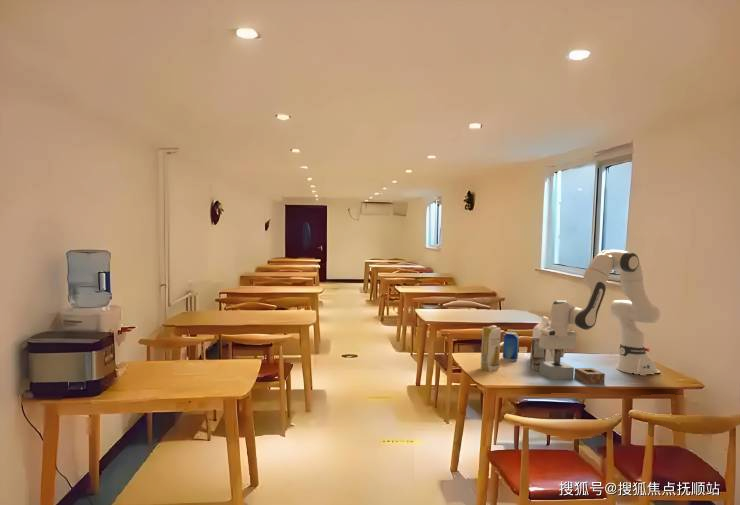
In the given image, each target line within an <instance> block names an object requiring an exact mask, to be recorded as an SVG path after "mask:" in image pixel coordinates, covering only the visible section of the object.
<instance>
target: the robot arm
mask: <svg viewBox="0 0 740 505" xmlns="http://www.w3.org/2000/svg"><path fill="white" fill-rule="evenodd" d="M611 271H619V281H620V284H619V285H620V291H621V293H622V295H624V296H625V297H627V299H628V300H627V299H615V300H613V301H612V303H611V304H610V307H609V310H610V313H611V315H612V316H613V317H614V318H615V319H616V321H617V322H618V324H619V327H620V335H621V336H620V337H621V338H620V339H621V340H620V344H619V356H618V362H617V364H616V367H615V369H616V370H618V371H620V372H623V373H627V374H632V373H634V375H638V374H640V375H639V376H646V375H645V374H652V375H654V374H653V373H659V372H661V370H659V369H657V365H656V361H655V360H653V358H651V356H649V355H648V354H647V353H648V352H650V351H651V348H650V347H645V346H644V340H645V333H644V331H643V330H642V329H641V328H639V327H638V325H636V322H637V323H643V324H655V323H656V322H658V320H659V319H660V316H661V312H660V309H659V307H658V306H657V305H655V304H654V303H653V302H652V301H651V300H650V298H649V297H648V295H647V294H646V291H645V285H644V277H643V270H642V266H641V262H640V259H639V257H638V255H637V254H636V253H634V252H632V251H627V250H622V249H609V248H608V249H603V250H602V251H600V252H599V253H598V254H596V255H595V256H594V258H593V259H592V260H591V261H590V263H589V264H588V266H587V268H586V270H585V271H584V273H583V276H582V277H583V278H582V280H583V283H584V284H585V286H586V287H587V288H588V289H589V290H590V296H589V298H588V300H587V303H586V306H585V307H583V308H582V307H577V306H576V305H573V304H571V303H570V302H569V301H568V300H564V299H560V300H559V299H557V300H554V301H553V302H552V305H551V308H550V322H549V323H550V326H549V327H547V328H544V329H541V333H542V334H541V335H540V339H539V347H540V348H542V349H549V351H550V352H551V357H555V355H556V354H554V353H553V351H554V349H558V348H561V349H562V350H561V358H564V354H565V353H566V351H567V350H575V349H576V348H577V347H578V346H577V345H578V342H577V333H576V332H575V331H574V330H571V331H570V330H569V325H572V326H575V327H578V328H580V329H582V330H583V331H584V330H586V331H587V330H590V329H592V328H593V327H594V326H595V325H596V322H597V317H598V314H599V311H600V309H601V308H600V307H601V304H602V302H603V300H604V298H605V293H606V289H607V288H606V283H607V280H608V278H609V276H610V274H611ZM656 370H657V371H656Z"/></svg>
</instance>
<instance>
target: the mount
mask: <svg viewBox="0 0 740 505" xmlns="http://www.w3.org/2000/svg"><path fill="white" fill-rule="evenodd" d="M605 377H606V373H604V372H601V371H599V370H598V369H595V368H594V367H577V368H576V367H574V375H573V379H574V378H575V380H578V381H580V382H582V383H583V384H586V385H596V384H600V385H601V384H605V381H606V380H605Z"/></svg>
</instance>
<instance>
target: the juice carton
mask: <svg viewBox="0 0 740 505" xmlns="http://www.w3.org/2000/svg"><path fill="white" fill-rule="evenodd" d="M501 331H502V329H501V327H498V326H497V325H490V326H483V327H482V335H481V352H480V355H481V356H480V369H482V370H485V371H489V372H493V371H497V370H499V368H500V353H501V352H500V351H501V335H502V332H501Z"/></svg>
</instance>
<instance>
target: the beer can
mask: <svg viewBox="0 0 740 505" xmlns="http://www.w3.org/2000/svg"><path fill="white" fill-rule="evenodd" d="M519 340H520V337H519V335H518V332H515V331H506V332H505V334H504V335H503V346H502V347H503V348H502V359H503V360H504V361H507V362H516V361H517V360H518V359H519V343H520V342H519Z"/></svg>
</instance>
